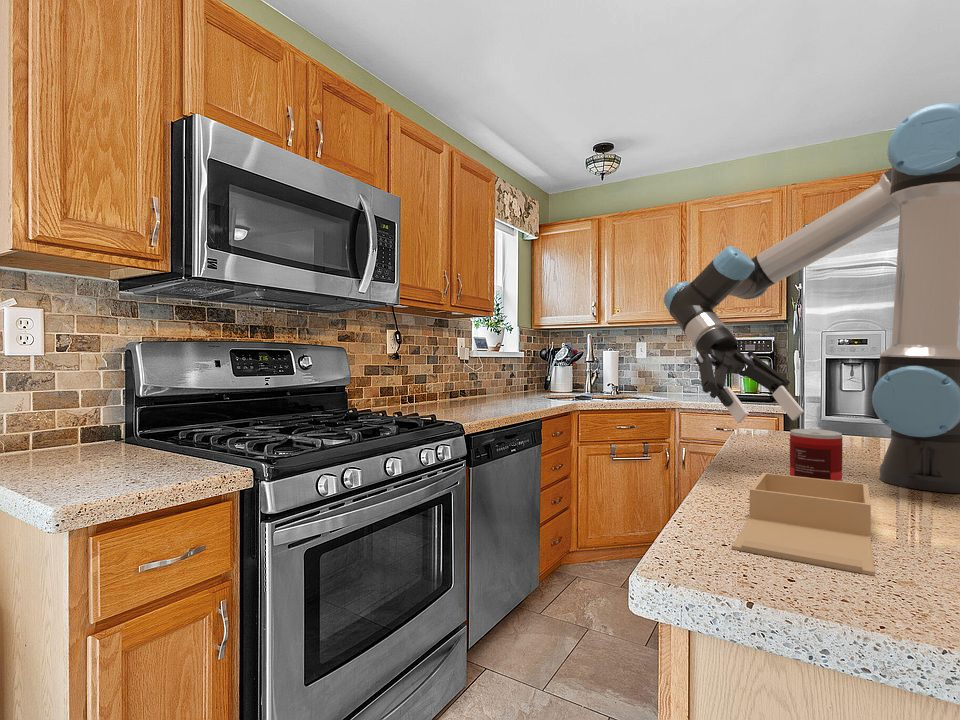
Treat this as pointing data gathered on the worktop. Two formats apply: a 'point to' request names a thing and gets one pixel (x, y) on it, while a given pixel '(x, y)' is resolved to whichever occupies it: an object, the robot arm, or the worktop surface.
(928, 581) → the worktop surface
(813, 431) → the canned food
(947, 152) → the robot arm
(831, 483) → the mailer box
